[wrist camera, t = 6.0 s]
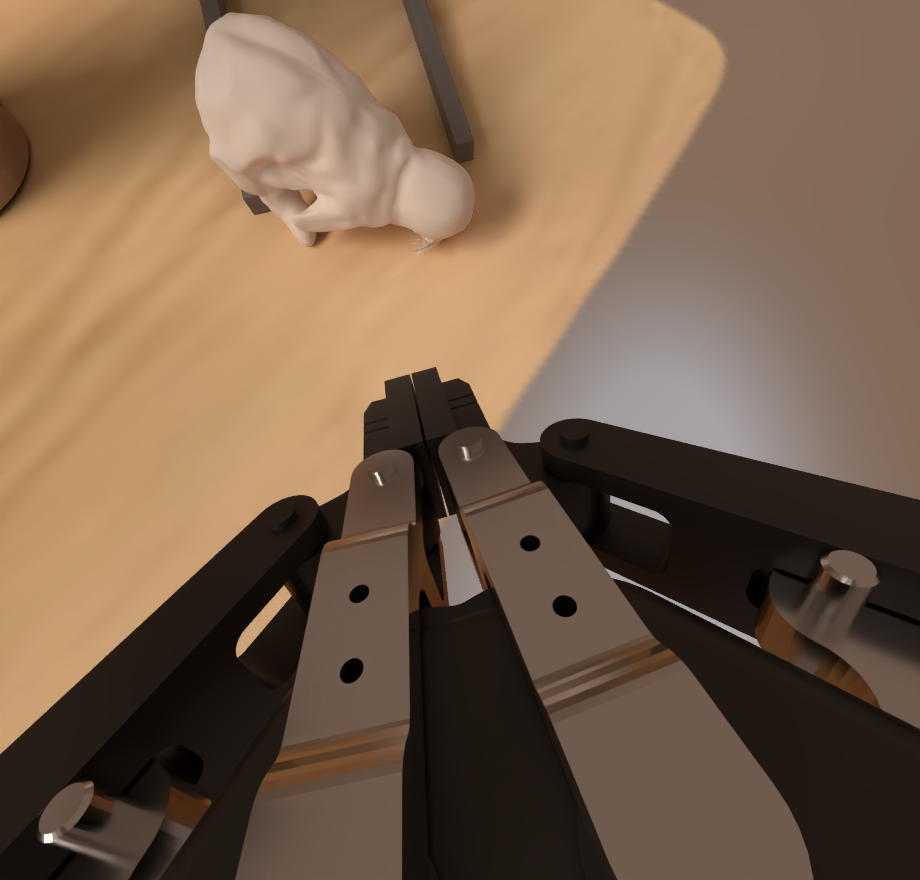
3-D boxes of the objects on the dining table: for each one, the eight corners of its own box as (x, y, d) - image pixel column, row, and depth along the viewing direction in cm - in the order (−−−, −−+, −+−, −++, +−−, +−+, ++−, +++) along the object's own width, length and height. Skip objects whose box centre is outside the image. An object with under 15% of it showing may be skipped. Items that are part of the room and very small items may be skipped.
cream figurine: (209, -54, 16) (510, 46, 16) (285, 141, 24) (481, 203, 25) (142, 78, 15) (466, 182, 15) (245, 234, 23) (451, 297, 23)
